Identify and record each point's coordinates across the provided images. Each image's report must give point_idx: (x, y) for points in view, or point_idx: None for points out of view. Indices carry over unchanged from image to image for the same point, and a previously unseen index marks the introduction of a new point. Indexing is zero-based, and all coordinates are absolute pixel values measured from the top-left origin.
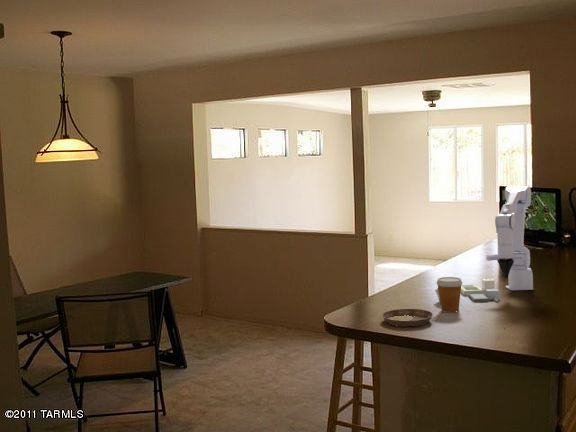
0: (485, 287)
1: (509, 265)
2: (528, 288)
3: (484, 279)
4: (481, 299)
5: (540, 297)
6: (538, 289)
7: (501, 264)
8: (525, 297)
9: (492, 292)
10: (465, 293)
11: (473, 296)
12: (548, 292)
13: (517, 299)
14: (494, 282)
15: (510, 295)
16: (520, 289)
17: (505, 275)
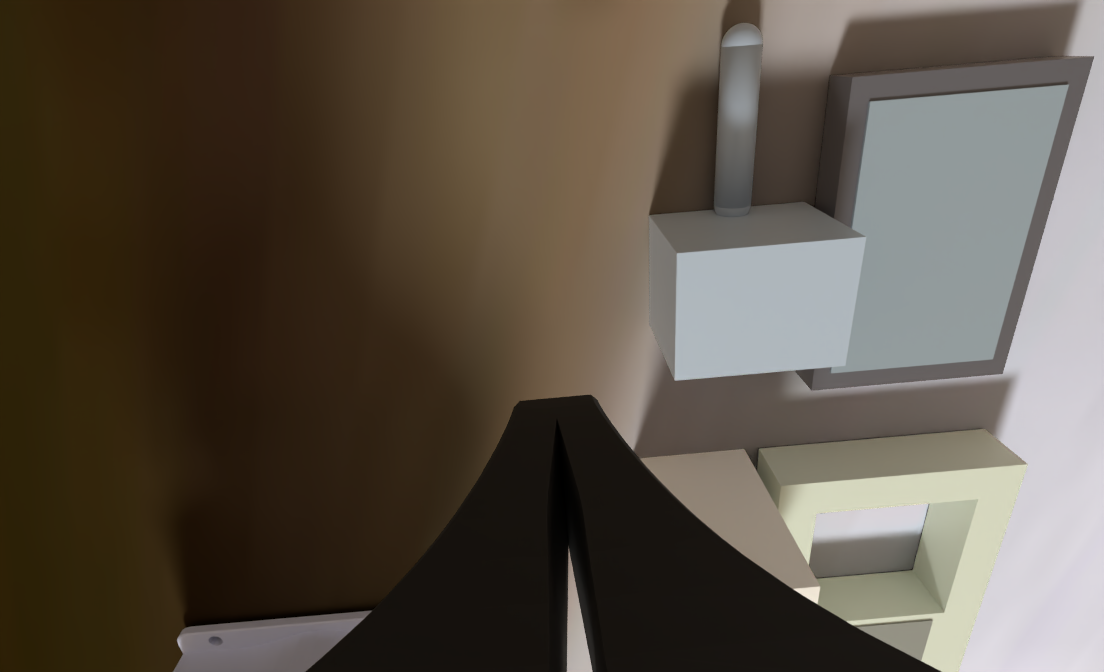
0: (770, 512)
1: (461, 630)
2: (229, 642)
3: None
4: (972, 65)
5: (94, 292)
6: (133, 642)
7: (888, 662)
8: (291, 304)
9: (779, 235)
10: (988, 444)
11: (1013, 234)
12: (15, 527)
13: (410, 194)
14: None
15: (462, 415)
16: (317, 620)
17: (589, 418)
